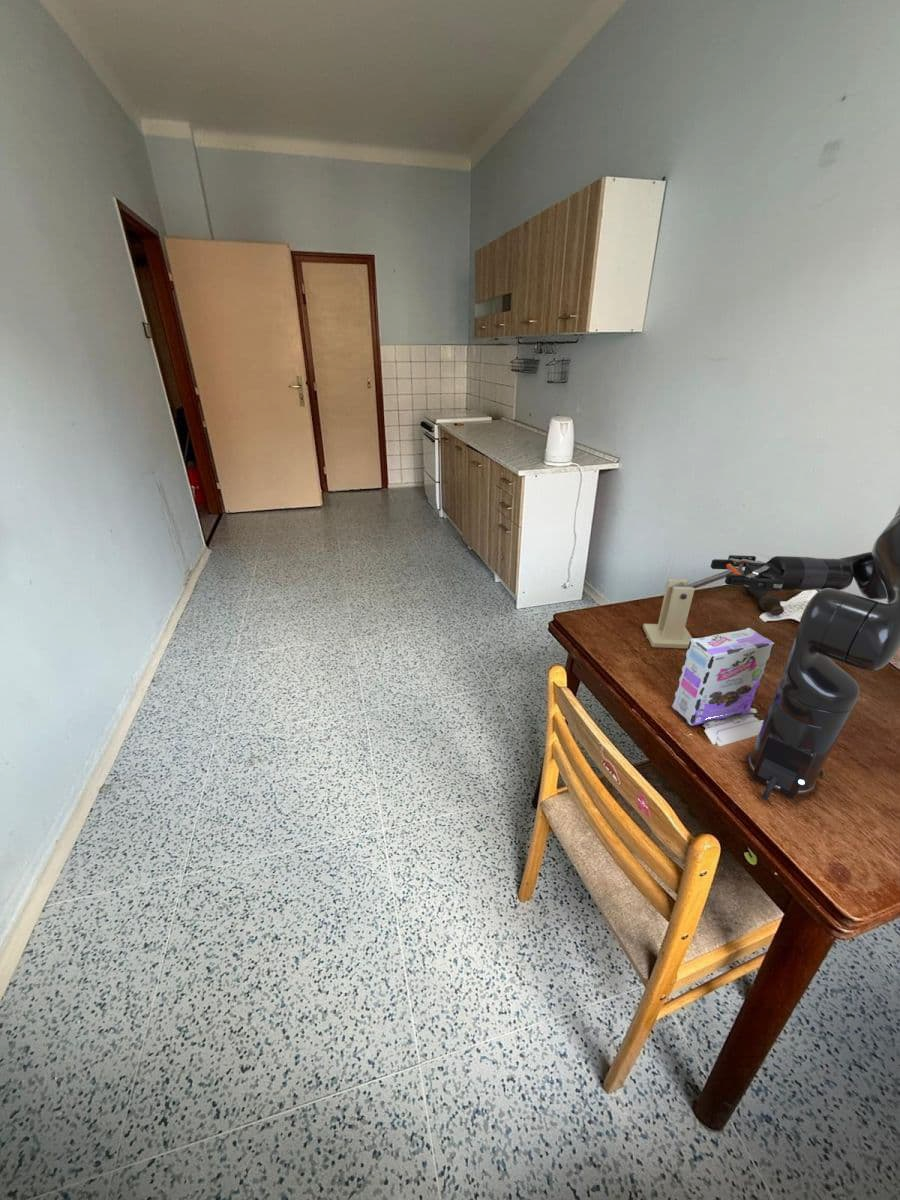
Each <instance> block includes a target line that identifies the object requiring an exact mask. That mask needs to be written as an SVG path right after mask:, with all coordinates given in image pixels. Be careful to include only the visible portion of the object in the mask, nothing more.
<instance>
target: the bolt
mask: <svg viewBox="0 0 900 1200" xmlns="http://www.w3.org/2000/svg"><path fill="white" fill-rule="evenodd" d="M762 586H763V585H761V584H760V585H759V586H758V587H762ZM741 587H742V590H743V592H744V594H745V595H750V596H751V595H753V596H754V597H755V599H756V600H757V601H758V605H759V607H760V609H761V610H762V612H767V613H769V614H770V615H771V616H773V617H777V616H778V617H779V616H780V614H781V615H782V614H784V612H785V608H784V607H783V605H781V600H780V598H779V596H778V595H777V594H772V593H770V591H753V590H751V587H745V586H744V585H741Z"/></svg>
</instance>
